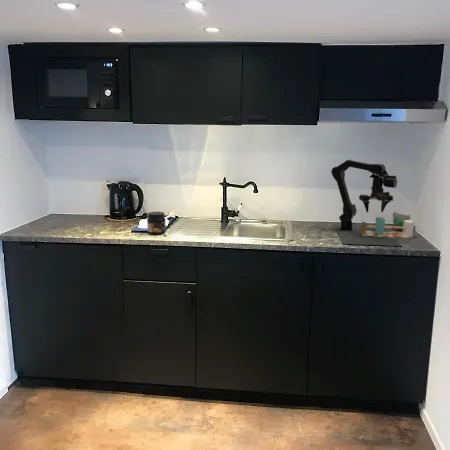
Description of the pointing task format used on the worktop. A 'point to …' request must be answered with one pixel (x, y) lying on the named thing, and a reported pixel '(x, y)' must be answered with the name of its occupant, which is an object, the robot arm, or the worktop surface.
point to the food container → (399, 220)
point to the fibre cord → (387, 227)
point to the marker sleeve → (379, 225)
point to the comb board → (386, 234)
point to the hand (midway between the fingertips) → (374, 212)
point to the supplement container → (156, 223)
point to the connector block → (408, 227)
